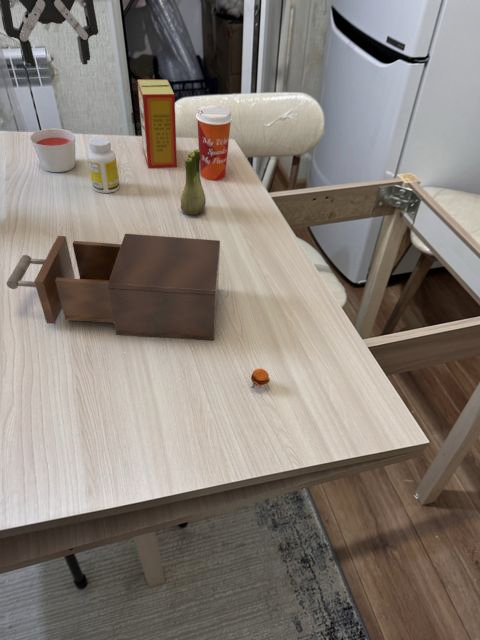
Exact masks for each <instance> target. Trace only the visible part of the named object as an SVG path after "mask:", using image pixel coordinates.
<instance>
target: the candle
mask: <svg viewBox="0 0 480 640" xmlns="http://www.w3.org/2000/svg"><path fill="white" fill-rule="evenodd" d="M29 141H30V143H31V145H32V147H33V149H34V151H35V154H36V156H37V158H38V161H39V162H40V163H39V164H40V165H41V168H43V169H44V171H45V170H46V171H47V172H50V173H51V172H52V173H64V172H68V171H71V170H72V169H74V168H75V166H76V134H75V133H74V132H72V131H70V130H67V129H63V128H45V129H39V130H37V131H34V132H33V133H32V134H31V135H29Z"/></svg>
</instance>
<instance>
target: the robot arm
mask: <svg viewBox="0 0 480 640" xmlns="http://www.w3.org/2000/svg"><path fill="white" fill-rule="evenodd" d="M18 1H19V2H20V4H21V5H22V6H23V7H24V8H25V11H24V13H23V15H22V17H21V21H20V24H19V26H18V27H14V22H13V16H12V11H11V10H12V9H13V8H14V7H15V3H16V0H0V16H1V23H2V26H3V27H2V28H3V30H4V32H5V34H6V35H7V37H8V38H14V39H17V41H18V42H19V46H20V49H21V54H22V58H23V60H24V62H25V63H26V64H28V65H29V67H30V68H36V62H35V58H34V53H33V47H32V44H31V41H30V40H29V38H30V36H31V33H32V31H33V30H34V29H35V28H36V25H37V23H40V24H41V25H48V24H52V23H53V24H56V25H62V24H63V23H64V22H67V23H68V24H69V25H70V26H71V28H72V29H73V30H74V31H75V33H76V34H77V37H76V41H77V46H78V47H77V48H78V53H79V60H80V63H81V64H82V65H83V66H84V65H88V61H90V60H91V52H90V44H89V43H90V42H89V39H90V38H91V37H92V36H97V35H98V34H99V26H98V21H97V15H96V10H95V4H94V0H77V2H78V5H79V6H80V7H81V8H83V13H84V18H85V23H86V25H84V26H82V25H81V24H80V22H79V21H78V20H77V19H76V18H75V16H74V15H73V14H72V13H71V10H72V8H73V6H74V3H75V1H76V0H18Z"/></svg>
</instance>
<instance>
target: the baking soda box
mask: <svg viewBox="0 0 480 640" xmlns="http://www.w3.org/2000/svg"><path fill="white" fill-rule="evenodd" d="M136 81H137V93H138V105H139V117H140V127H141V128H140V129H141V142H142V143H141V144H142V151H143V155H144V158H145V161H146V165H147V169H159V168H160V169H161V168H163V169H164V168H177V167H178V161H177V160H178V157H177V129H176V126H177V125H176V103H175V102H176V100H175V99H176V97H175V93H174V91H173V88H172V86H171V84H170V82H169V80H168V79H156V78H155V79H145V78H144V79H143V78H141V79H139V78H138V79H136Z"/></svg>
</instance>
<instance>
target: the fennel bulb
mask: <svg viewBox="0 0 480 640" xmlns="http://www.w3.org/2000/svg"><path fill="white" fill-rule="evenodd" d="M184 166H185V184H184V187H183V189H182V193H181V197H180V209H181V211H182V212H183V213H184V214H187V215H190V216H194V215H198V214H201V213H202V212H203V211H204V210H205V208H206V201H207V200H206V195H205V194H206V193H205V191H204V188H203V184H202V181H201V171H200V150H199V148H198V149H194V150H193V151H191V152H189V153H188V154H187V158H186V159H184Z"/></svg>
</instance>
